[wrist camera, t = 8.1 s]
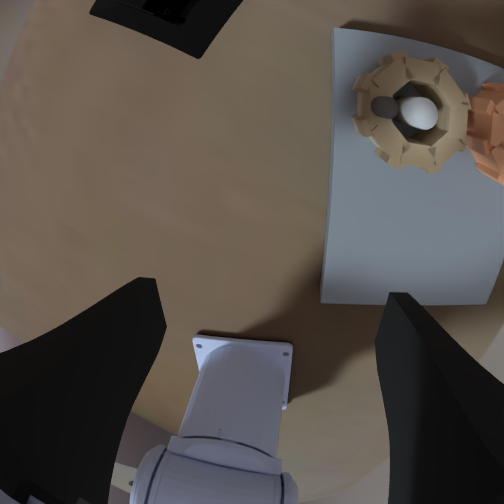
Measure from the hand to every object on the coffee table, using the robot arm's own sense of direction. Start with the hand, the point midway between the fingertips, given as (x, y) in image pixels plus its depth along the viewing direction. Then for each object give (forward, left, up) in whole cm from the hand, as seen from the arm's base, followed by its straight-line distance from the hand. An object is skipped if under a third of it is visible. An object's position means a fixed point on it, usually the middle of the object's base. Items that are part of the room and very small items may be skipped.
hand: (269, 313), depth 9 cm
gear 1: (+6, -6, -8) cm, 12 cm away
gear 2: (+6, -12, -8) cm, 16 cm away
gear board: (+2, -9, -10) cm, 14 cm away
